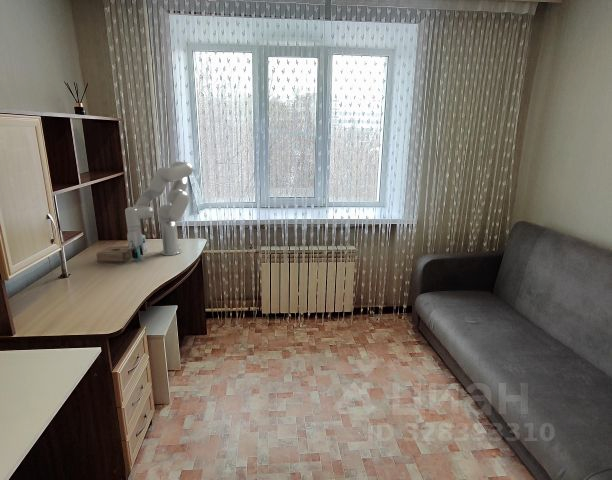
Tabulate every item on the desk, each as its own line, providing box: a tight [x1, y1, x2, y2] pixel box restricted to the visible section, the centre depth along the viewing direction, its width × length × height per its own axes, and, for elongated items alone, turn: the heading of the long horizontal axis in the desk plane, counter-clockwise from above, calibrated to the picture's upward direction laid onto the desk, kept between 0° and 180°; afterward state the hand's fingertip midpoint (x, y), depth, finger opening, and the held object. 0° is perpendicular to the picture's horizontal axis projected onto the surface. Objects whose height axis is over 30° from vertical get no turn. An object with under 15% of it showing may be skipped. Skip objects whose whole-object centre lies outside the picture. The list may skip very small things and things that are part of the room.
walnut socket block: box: [95, 245, 134, 264], centre depth 247 cm, size 16×16×6 cm
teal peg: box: [134, 246, 142, 263], centre depth 243 cm, size 3×3×10 cm
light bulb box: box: [126, 234, 148, 253], centre depth 263 cm, size 11×7×11 cm, turn 58°
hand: (137, 256), depth 243 cm, fingers open, 5 cm apart
